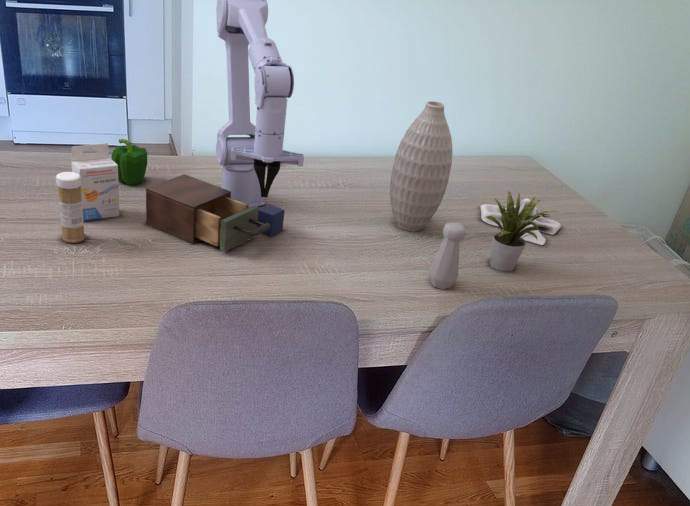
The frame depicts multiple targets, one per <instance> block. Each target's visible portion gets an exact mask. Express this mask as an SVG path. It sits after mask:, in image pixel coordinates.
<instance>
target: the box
mask: <svg viewBox="0 0 690 506" xmlns="http://www.w3.org/2000/svg"><path fill="white" fill-rule="evenodd" d="M284 219H285V209H283V208H281V207H278V206H276V205H274V204H271V203H270V204H267V205H265V206H263V207H261V208H259V212H258V222H261V223H263V224H266V223H269V224H270V225H271V228H270V229H269V230H267V231H265V232H263V233H262V234H263V235H266V236H269V237H273V236H275V235H277V234H279V233H280V232H283V227H284ZM257 227H260V226H258V225H257Z"/></svg>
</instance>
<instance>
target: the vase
mask: <svg viewBox="0 0 690 506" xmlns="http://www.w3.org/2000/svg"><path fill="white" fill-rule="evenodd" d="M452 139H453V138H452V134H451V130H450V126H449V124H448V121H447V118H446V114H445V104H444V103H442V102H439V101H435V100H430V101H427V102H426V103H425V106H424V109H422V111H421V113H420V114H419V115H418V116H417V117H416V118H415V119H414V120H413V122H412V123H411V124H410V125H409V127H408V128H407V129H406V131H405V133H403V136H402V138H401V140H400V142H399V145H398V147H397V150H396V153H395V157H394V160H393V164H392V169H391V171H392V172H391V176H390V184H389V199H390V207H391V208H390V209H391V213H392V216H393V218H394V221H395V223H396V226H397V227H398V228H400V229H401V230H404V231H408V232H419V231H421V230H422V229H424V227H426V226H427V225H428V223H430V221H431V220H432V219H433V217H434V215H435V214H436V213H437V211H438V209H439V207H440V205H441V203H442V201H443V199H444V196H445V194H446V190H447V187H448V183H449V179H450V176H451V170H452V166H453V165H452V164H453V140H452Z"/></svg>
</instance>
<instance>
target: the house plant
mask: <svg viewBox="0 0 690 506" xmlns="http://www.w3.org/2000/svg"><path fill="white" fill-rule="evenodd" d="M536 197H537V196H536V195H535V196H534V197H533V198H531V199H530V200H531V201H530V202H529V203H528V204H527V205H526V206H525V207H524V208H523V209H522V211H521V212H520V213H519V210H520V202H521V201H520V200H521V196H520V193H518V194H517V198H516V203H515V201H514V198H513V195H512V192H510V190H508V191H507V199H506V200H507V203H506V207H507V209H506V210H505V206H504V205H502V203H500V201H499V200H498V199H497V198H494V200H495V202H496V203H497V205H498V206H499V208H498V209H499V210H500V213H501V215H502V217H501V221H502V224H503V227H502V226H501V224H500V223H499V221H498V220H497V219H496V218H494V217H492V216H486V218H487V219H489V220H491V221H493V222H495V223H496V224H498V226H497V227H499V229H500V231H498V232H496V233H494V234H493V235H492V239H491V250H490V257H489V265H490V267H491V268H493V269H495V270H497V271H501V272H512V271H513V270H514V269H515V267H516V266H517V263H518V261H519V259H520V257H521V256H522V254H523V251H524V250H525V248H526V246H527V241H525V240H524V239H523V237H522V238H521V236H522V235H524V234H525V233H529V234H531V235H532V236H534V237H535V238H536V239H537V236H536V234H535V233H533V232H530V231H534V230H540V229H539V228H538V227H539V226H547V225H536V224H535V223H533V222H532V221H533V220H535V219H537V218H539V217H544V218H551V217H552V216H551V215H549V214H548V213H557V212H558V210H544V211H540V213H537V214H535V215H533V216H528V215H529V214H530V213H531V212H532V211H533V210H534V208H535V207H536V206H537V205H538V204H539V203H540V202H541V199H538V200H535V199H536ZM514 206H516V208H515V207H514ZM518 214H519V215H518ZM534 217H535V218H534ZM531 219H532V220H531ZM523 221H524V222H523ZM528 221H529V222H528ZM522 222H523V223H522ZM526 222H527V223H526ZM528 225H536V226H532V227H528V228H526V229H524V228H525V227H526V226H528ZM523 229H524V230H523ZM526 236H528V235H526ZM526 236H524V237H526Z"/></svg>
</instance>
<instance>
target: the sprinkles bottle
mask: <svg viewBox="0 0 690 506" xmlns="http://www.w3.org/2000/svg"><path fill="white" fill-rule="evenodd" d="M55 183H56V186H57V191H58V205H59V206H58V207H59V217H60V225H61V234H62V236H61V239H62V240H63V241H64V242H66V243H70V244H72V243H73V244H75V243H80V242H83V241H84V240H85V238H86V235H85V227H84V221H83V210H82V199H81V176H80V175H79V174H78V173H75V172H72V171H62V172H59V173H57V175H56V176H55Z"/></svg>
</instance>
